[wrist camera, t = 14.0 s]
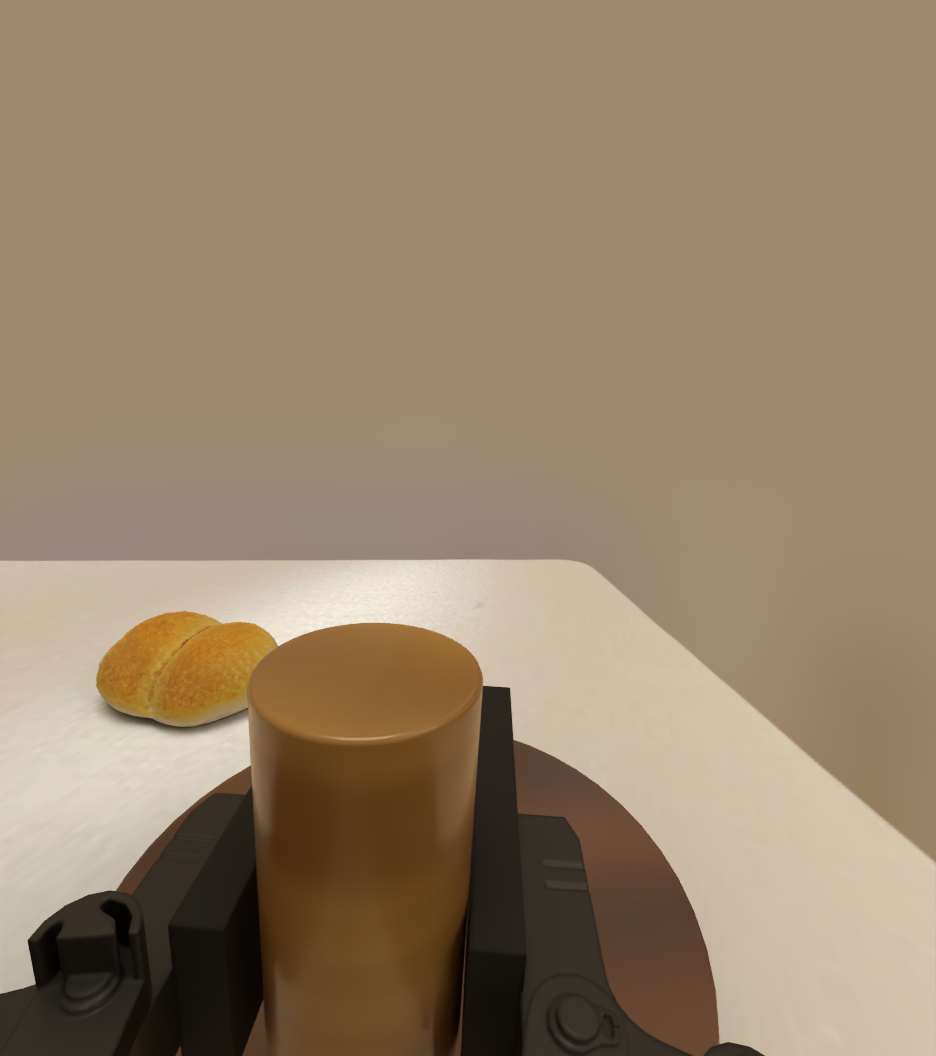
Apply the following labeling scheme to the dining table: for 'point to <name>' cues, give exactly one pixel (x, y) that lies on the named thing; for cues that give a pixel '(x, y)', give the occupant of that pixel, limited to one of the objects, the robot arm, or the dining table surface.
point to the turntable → (419, 854)
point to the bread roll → (183, 668)
